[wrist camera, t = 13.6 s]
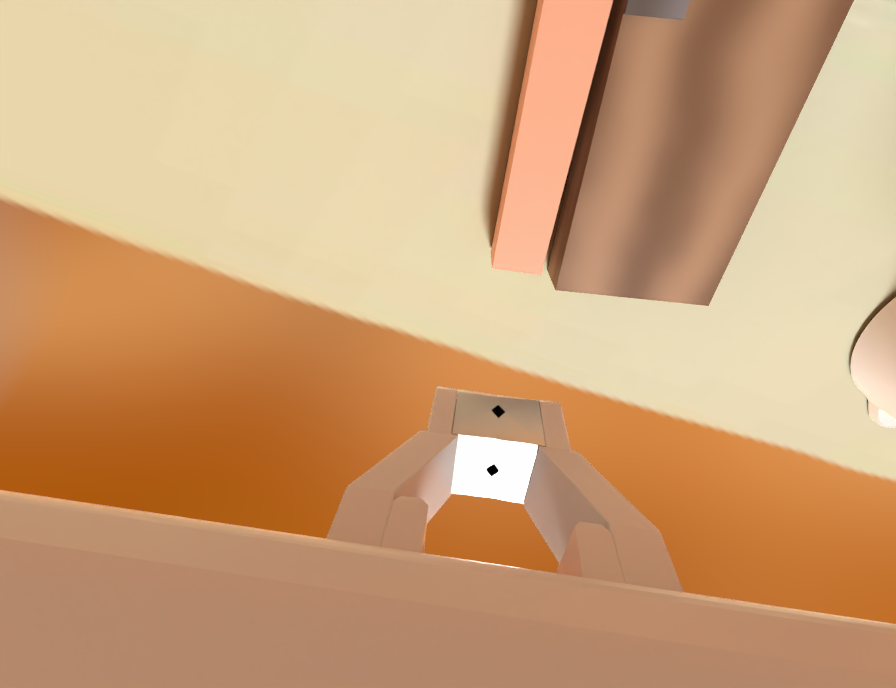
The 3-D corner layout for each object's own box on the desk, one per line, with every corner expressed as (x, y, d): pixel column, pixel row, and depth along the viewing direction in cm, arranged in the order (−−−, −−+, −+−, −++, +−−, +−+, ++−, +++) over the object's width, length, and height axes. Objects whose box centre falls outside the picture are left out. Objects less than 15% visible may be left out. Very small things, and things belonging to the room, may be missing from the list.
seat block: (825, -48, 22) (895, -77, 18) (683, 283, 32) (710, 307, 28) (623, -66, 22) (652, -100, 18) (547, 269, 32) (556, 291, 28)
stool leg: (550, -70, 22) (563, -101, 19) (613, -61, 22) (638, -90, 19) (490, 251, 32) (492, 269, 28) (534, 257, 32) (541, 276, 28)
